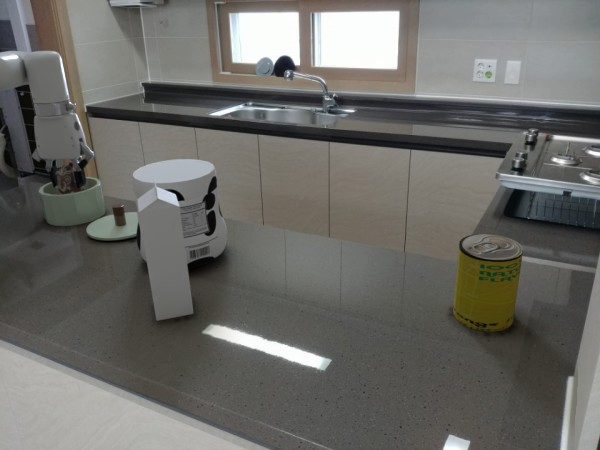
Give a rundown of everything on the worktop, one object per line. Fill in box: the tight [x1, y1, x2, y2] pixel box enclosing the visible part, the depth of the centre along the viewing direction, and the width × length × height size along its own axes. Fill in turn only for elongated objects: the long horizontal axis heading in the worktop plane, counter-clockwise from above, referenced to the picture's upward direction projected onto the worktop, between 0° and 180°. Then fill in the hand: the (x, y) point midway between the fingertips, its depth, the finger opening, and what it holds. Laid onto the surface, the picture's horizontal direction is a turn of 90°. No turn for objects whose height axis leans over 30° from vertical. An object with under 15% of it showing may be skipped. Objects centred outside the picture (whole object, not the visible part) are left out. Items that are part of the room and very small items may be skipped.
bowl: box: [38, 176, 106, 227], centre depth 129 cm, size 14×14×8 cm
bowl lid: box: [85, 203, 138, 241], centre depth 120 cm, size 15×15×6 cm
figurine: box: [56, 161, 85, 195], centre depth 127 cm, size 7×7×12 cm
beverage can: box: [452, 233, 524, 333], centre depth 82 cm, size 9×9×12 cm
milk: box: [137, 179, 194, 322], centre depth 85 cm, size 6×6×22 cm
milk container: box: [131, 158, 228, 269], centre depth 103 cm, size 17×17×18 cm
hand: (69, 185), depth 127 cm, fingers closed on figurine, 5 cm apart
